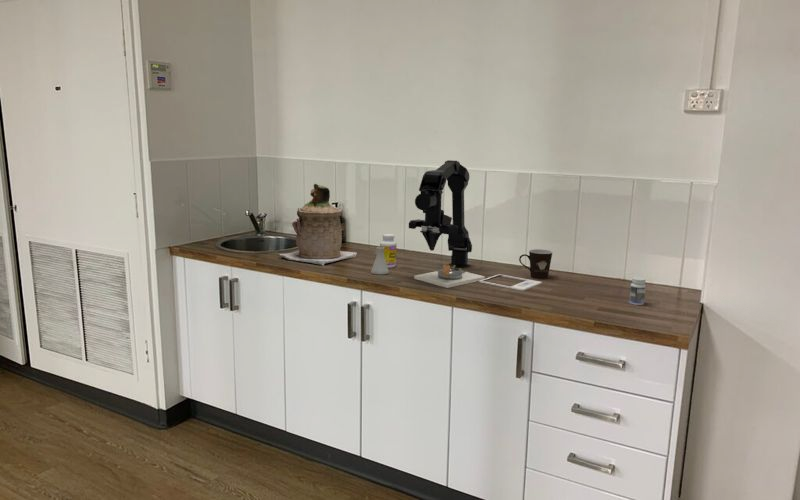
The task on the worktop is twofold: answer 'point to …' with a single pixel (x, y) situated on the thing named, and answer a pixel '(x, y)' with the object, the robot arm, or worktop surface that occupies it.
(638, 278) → the pill bottle
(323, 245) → the cookie jar
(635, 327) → the worktop surface
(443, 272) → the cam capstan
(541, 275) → the coffee mug
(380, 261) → the flask
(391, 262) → the supplement bottle
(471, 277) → the stand
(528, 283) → the photo frame
